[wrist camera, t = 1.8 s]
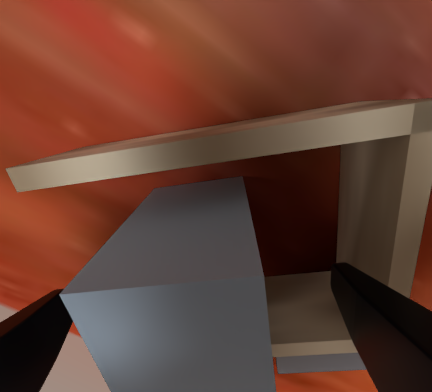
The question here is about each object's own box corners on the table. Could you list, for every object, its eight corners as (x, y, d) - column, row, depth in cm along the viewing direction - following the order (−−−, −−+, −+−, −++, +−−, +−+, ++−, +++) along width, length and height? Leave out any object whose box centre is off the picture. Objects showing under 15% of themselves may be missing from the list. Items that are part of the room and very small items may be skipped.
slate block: (242, 175, 11) (263, 275, 5) (252, 252, 13) (277, 407, 6) (154, 188, 11) (59, 294, 5) (174, 260, 13) (121, 411, 7)
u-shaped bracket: (362, 101, 9) (448, 97, 6) (350, 280, 13) (399, 350, 9) (81, 147, 11) (5, 168, 7) (138, 298, 14) (106, 366, 11)
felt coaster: (374, 294, 13) (379, 300, 13) (365, 361, 15) (370, 369, 15) (270, 302, 14) (272, 309, 13) (276, 365, 16) (278, 373, 16)
